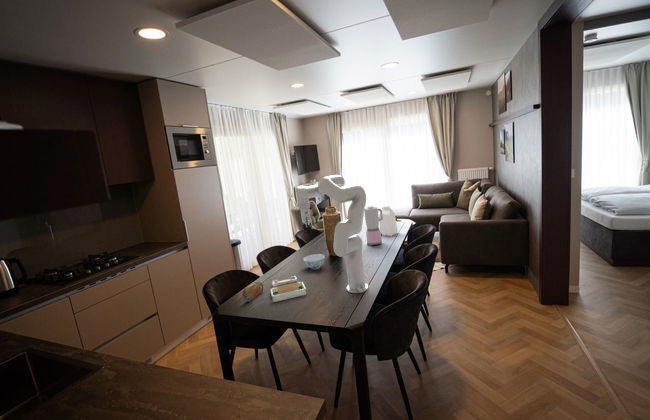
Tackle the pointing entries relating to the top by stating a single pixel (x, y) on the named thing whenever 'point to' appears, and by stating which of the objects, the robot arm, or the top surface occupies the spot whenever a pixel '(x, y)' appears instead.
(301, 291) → the tray
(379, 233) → the blender
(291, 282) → the tan rectangular block
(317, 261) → the chinaware
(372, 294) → the top surface
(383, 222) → the milk
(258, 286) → the orange plastic package
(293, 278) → the clip holder
